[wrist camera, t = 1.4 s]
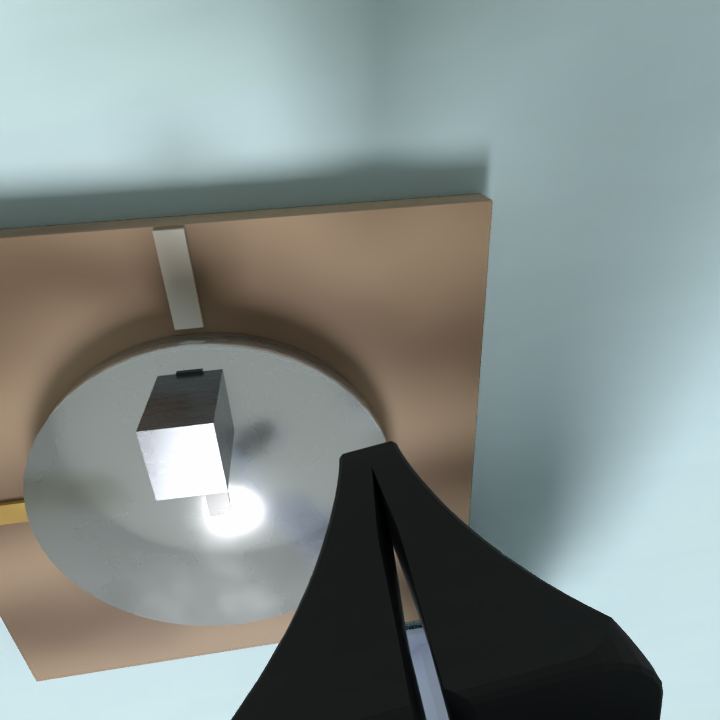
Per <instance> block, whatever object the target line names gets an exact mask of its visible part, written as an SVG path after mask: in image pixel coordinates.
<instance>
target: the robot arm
mask: <svg viewBox="0 0 720 720" xmlns="http://www.w3.org/2000/svg"><path fill="white" fill-rule="evenodd" d="M393 547H394V548H393ZM394 550H395V552H396V555H397V558H398V561H399V563H400V566H401V569H402V572H403V574H404V577H405V580H406V583H407V585H408V588H409V591H410V594H411V596H412V599H413V602H414V605H415V607H416V610H417V613H418V616H419V618H420V621H421V624H422V628H416V629H410V630H406V626H405V619H404V613H403V606H402V600H401V593H400V587H399V580H398V574H397V567H396V561H395V554H394ZM662 697H663V689H662V682H661V680H660V679H659V677H658V676H657V674H656V672H655V670H654V668H653V667H652V665H651V664H650V662H649V661H648V660H647V658H646V657H645V656H644V655H643V653H642V652H641V651H640V650H639V648H638V647H637V646H636V645H635V643H634V642H633V641H632V640H631V639H630V637H629V636H628V635H627V634H626V633H625V632H624V631H623V630H622V628H621V627H620V626H619V625H618V624H617V623H616V622H615V621H614V620H613V619H612V618H611V617H609V616H607V615H605V614H603V613H601V612H599V611H597V610H595V609H593V608H591V607H589V606H587V605H585V604H583V603H582V602H580V601H578V600H576V599H574V598H572V597H570V596H569V595H567V594H565V593H563V592H562V591H560V590H558V589H556V588H555V587H553V586H551V585H550V584H548V583H546V582H545V581H543V580H541V579H540V578H538V577H537V576H535V575H534V574H532V573H531V572H529V571H528V570H526V569H525V568H523V567H522V566H520V565H519V564H517V563H515V562H514V561H512V560H511V559H509V558H508V557H507V556H505V555H504V554H502V553H501V552H500V551H498V550H497V549H496V548H494V547H493V546H492V545H491V544H489V543H488V542H487V541H485V540H484V539H483V538H482V537H480V536H479V535H478V534H477V533H476V532H474V531H473V530H472V529H471V528H470V527H469V526H467V525H466V524H465V523H464V522H463V521H462V520H461V519H460V518H458V517H457V516H456V515H455V514H454V513H453V512H452V511H451V510H450V509H449V508H448V507H447V506H446V505H445V504H444V503H443V502H442V501H441V500H440V499H439V498H438V497H437V496H436V495H435V494H434V492H433V491H432V490H431V489H430V488H429V487H428V486H427V485H426V484H425V482H424V481H423V480H422V479H421V478H420V477H419V475H418V474H417V473H416V472H415V470H414V469H413V468H412V467H411V465H410V464H409V463H408V461H407V460H406V458H405V457H404V455H403V454H402V452H401V451H400V449H399V447H398V445H397V443H395V442H393V441H389V442H385V443H381V444H378V445H374V446H370V447H366V448H363V449H359V450H355V451H351V452H348V453H344V454H342V455H341V457H340V458H339V474H338V481H337V488H336V493H335V499H334V503H333V507H332V512H331V516H330V520H329V524H328V528H327V531H326V534H325V537H324V541H323V544H322V547H321V551H320V554H319V557H318V559H317V562H316V565H315V568H314V570H313V573H312V576H311V578H310V580H309V583H308V585H307V588H306V590H305V593H304V595H303V597H302V599H301V601H300V603H299V606H298V608H297V610H296V612H295V614H294V616H293V618H292V620H291V622H290V624H289V626H288V628H287V630H286V632H285V634H284V636H283V637H282V639H281V641H280V643H279V645H278V646H277V648H276V650H275V652H274V653H273V655H272V657H271V659H270V660H269V662H268V664H267V666H266V667H265V669H264V671H263V672H262V674H261V676H260V677H259V679H258V680H257V682H256V683H255V685H254V686H253V688H252V689H251V691H250V692H249V694H248V695H247V697H246V698H245V700H244V701H243V703H242V704H241V706H240V707H239V709H238V710H237V712H236V713H235V715H234V716H233V718H232V719H231V720H660V714H661V706H662Z"/></svg>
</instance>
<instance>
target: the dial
mask: <svg viewBox="0 0 720 720" xmlns="http://www.w3.org/2000/svg"><path fill="white" fill-rule="evenodd" d="M385 442H386V438H385V435H384V432H383V429H382V427H381V425H380V423H379V421H378V419H377V416H376V414H375V413H374V411H373V410H372V408H371V407H370V405H369V404H368V402H367V401H366V399H365V398H364V397H363V396H362V395H361V393H360V392H359V391H358V390H357V389H356V388H355V387H354V386H353V385H352V384H351V383H350V382H349V381H348V380H347V379H346V378H344V377H343V376H342V375H341V374H340V373H338V372H337V371H336V370H335V369H333V368H332V367H330V366H328V365H327V364H325V363H324V362H322V361H320V360H319V359H317V358H316V357H314V356H312V355H309V354H307V353H305V352H303V351H301V350H299V349H296V348H294V347H292V346H288V345H285V344H282V343H279V342H276V341H273V340H270V339H265V338H260V337H255V336H250V335H244V334H232V333H219V332H213V333H190V334H183V335H177V336H171V337H164V338H161V339H157V340H154V341H150V342H147V343H143V344H140V345H137V346H135V347H132V348H130V349H128V350H125V351H123V352H121V353H118V354H116V355H114V356H112V357H111V358H109V359H107V360H106V361H104V362H102V363H101V364H99V365H97V366H96V367H94V368H93V369H92V370H90V371H89V372H88V373H87V374H85V375H84V376H83V377H82V378H80V379H79V380H78V381H77V382H76V383H75V384H74V385H73V386H72V387H71V388H70V389H69V390H68V391H67V393H66V394H65V395H64V396H63V397H62V398H61V399H60V401H59V402H58V404H57V406H56V407H55V409H54V410H53V412H52V413H51V415H50V416H49V418H48V419H47V421H46V422H45V424H44V425H43V427H42V428H41V430H40V432H39V433H38V435H37V436H36V438H35V440H34V443H33V445H32V448H31V450H30V452H29V455H28V458H27V463H26V467H25V472H24V483H23V497H24V503H25V509H26V515H27V518H28V520H29V523H30V526H31V529H32V531H33V534H34V535H35V537H36V539H37V541H38V543H39V544H40V546H41V548H42V550H43V551H44V552H45V554H46V555H47V556H48V557H49V559H50V560H51V561H52V562H53V564H54V565H55V566H56V567H57V568H58V569H59V570H60V571H61V572H62V573H63V574H64V575H65V576H66V577H67V578H68V579H70V580H71V581H72V582H74V583H75V584H76V585H78V586H79V587H80V588H82V589H83V590H84V591H86V592H87V593H89V594H91V595H93V596H94V597H96V598H98V599H99V600H101V601H103V602H105V603H107V604H109V605H112V606H114V607H116V608H118V609H121V610H123V611H126V612H129V613H132V614H135V615H138V616H141V617H145V618H149V619H153V620H157V621H162V622H168V623H175V624H182V625H196V626H222V625H234V624H243V623H249V622H254V621H260V620H265V619H269V618H272V617H276V616H279V615H282V614H286V613H288V612H291V611H294V610H296V609H297V608H298V606H299V603H300V601H301V599H302V597H303V595H304V593H305V590H306V588H307V585H308V583H309V580H310V578H311V576H312V573H313V570H314V568H315V565H316V562H317V559H318V557H319V554H320V551H321V547H322V544H323V541H324V537H325V534H326V531H327V528H328V524H329V520H330V516H331V512H332V507H333V503H334V499H335V493H336V488H337V481H338V474H339V458H340V457H341V455H342V454H344V453H348V452H351V451H355V450H359V449H363V448H366V447H370V446H374V445H378V444H381V443H385Z"/></svg>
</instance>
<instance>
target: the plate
mask: <svg viewBox="0 0 720 720" xmlns="http://www.w3.org/2000/svg"><path fill="white" fill-rule="evenodd" d="M491 214H492V200H490V199H488V198H487V197H485V196H483V195H481V194H467V195H453V196H440V197H427V198H413V199H400V200H387V201H373V202H360V203H346V204H333V205H320V206H306V207H293V208H279V209H266V210H253V211H239V212H226V213H212V214H199V215H186V216H172V217H159V218H146V219H132V220H119V221H105V222H92V223H79V224H65V225H52V226H38V227H25V228H12V229H0V616H1V618H2V620H3V622H4V624H5V625H6V627H7V629H8V631H9V633H10V634H11V636H12V638H13V640H14V642H15V643H16V645H17V647H18V649H19V651H20V652H21V654H22V656H23V658H24V660H25V661H26V663H27V665H28V667H29V669H30V670H31V672H32V674H33V676H34V677H35V679H36V681H42V680H48V679H55V678H61V677H67V676H74V675H80V674H86V673H92V672H99V671H105V670H111V669H118V668H124V667H130V666H136V665H143V664H149V663H155V662H162V661H168V660H174V659H180V658H187V657H193V656H199V655H206V654H212V653H218V652H224V651H231V650H237V649H243V648H250V647H256V646H262V645H268V644H275V643H280V641H281V639H282V637H283V636H284V634H285V632H286V630H287V628H288V626H289V624H290V622H291V620H292V618H293V616H294V614H295V612H296V610H297V609H296V610H294V611H291V612H288V613H286V614H282V615H279V616H276V617H272V618H269V619H265V620H260V621H254V622H249V623H243V624H234V625H222V626H196V625H182V624H175V623H168V622H162V621H157V620H153V619H149V618H145V617H141V616H138V615H135V614H132V613H129V612H126V611H123V610H121V609H118V608H116V607H114V606H112V605H109V604H107V603H105V602H103V601H101V600H99V599H98V598H96V597H94V596H93V595H91V594H89V593H87V592H86V591H84V590H83V589H82V588H80V587H79V586H78V585H76V584H75V583H74V582H72V581H71V580H70V579H68V578H67V577H66V576H65V575H64V574H63V573H62V572H61V571H60V570H59V569H58V568H57V567H56V566H55V565H54V564H53V562H52V561H51V560H50V559H49V557H48V556H47V555H46V554H45V552H44V551H43V550H42V548H41V546H40V544H39V543H38V541H37V539H36V537H35V535H34V534H33V531H32V529H31V526H30V523H29V520H28V518H27V515H26V509H25V503H24V497H23V483H24V472H25V467H26V463H27V458H28V455H29V452H30V450H31V448H32V445H33V443H34V440H35V438H36V436H37V435H38V433H39V432H40V430H41V428H42V427H43V425H44V424H45V422H46V421H47V419H48V418H49V416H50V415H51V413H52V412H53V410H54V409H55V407H56V406H57V404H58V402H59V401H60V399H61V398H62V397H63V396H64V395H65V394H66V393H67V391H68V390H69V389H70V388H71V387H72V386H73V385H74V384H75V383H76V382H77V381H78V380H79V379H80V378H82V377H83V376H84V375H85V374H87V373H88V372H89V371H90V370H92V369H93V368H94V367H96V366H97V365H99V364H101V363H102V362H104V361H106V360H107V359H109V358H111V357H112V356H114V355H116V354H118V353H121V352H123V351H125V350H128V349H130V348H132V347H135V346H137V345H140V344H143V343H147V342H150V341H154V340H157V339H161V338H164V337H171V336H177V335H183V334H190V333H213V332H219V333H232V334H244V335H250V336H255V337H260V338H265V339H270V340H273V341H276V342H279V343H282V344H285V345H288V346H292V347H294V348H296V349H299V350H301V351H303V352H305V353H307V354H309V355H312V356H314V357H316V358H317V359H319V360H320V361H322V362H324V363H325V364H327V365H328V366H330V367H332V368H333V369H335V370H336V371H337V372H338V373H340V374H341V375H342V376H343V377H344V378H346V379H347V380H348V381H349V382H350V383H351V384H352V385H353V386H354V387H355V388H356V389H357V390H358V391H359V392H360V393H361V395H362V396H363V397H364V398H365V399H366V401H367V402H368V404H369V405H370V407H371V408H372V410H373V411H374V413H375V414H376V416H377V419H378V421H379V423H380V425H381V427H382V429H383V432H384V435H385V438H386V442H389V441H393V442H395V443H397V445H398V447H399V449H400V451H401V452H402V454H403V455H404V457H405V458H406V460H407V461H408V463H409V464H410V465H411V467H412V468H413V469H414V470H415V472H416V473H417V474H418V475H419V477H420V478H421V479H422V480H423V481H424V482H425V484H426V485H427V486H428V487H429V488H430V489H431V490H432V491H433V492H434V494H435V495H436V496H437V497H438V498H439V499H440V500H441V501H442V502H443V503H444V504H445V505H446V506H447V507H448V508H449V509H450V510H451V511H452V512H453V513H454V514H455V515H456V516H457V517H458V518H460V519H461V520H462V521H463V522H464V523H465V524H466V525H467V526H469V514H470V501H471V487H472V473H473V460H474V446H475V432H476V419H477V405H478V391H479V378H480V364H481V351H482V337H483V323H484V310H485V296H486V282H487V269H488V255H489V241H490V228H491ZM393 548H394V547H393ZM394 554H395V561H396V567H397V574H398V580H399V587H400V593H401V600H402V606H403V613H404V619H405V623H407V622H413V621H419V620H420V618H419V616H418V613H417V610H416V607H415V605H414V602H413V599H412V596H411V594H410V591H409V588H408V585H407V583H406V580H405V577H404V574H403V572H402V569H401V566H400V563H399V561H398V558H397V555H396V552H395V550H394Z"/></svg>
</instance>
